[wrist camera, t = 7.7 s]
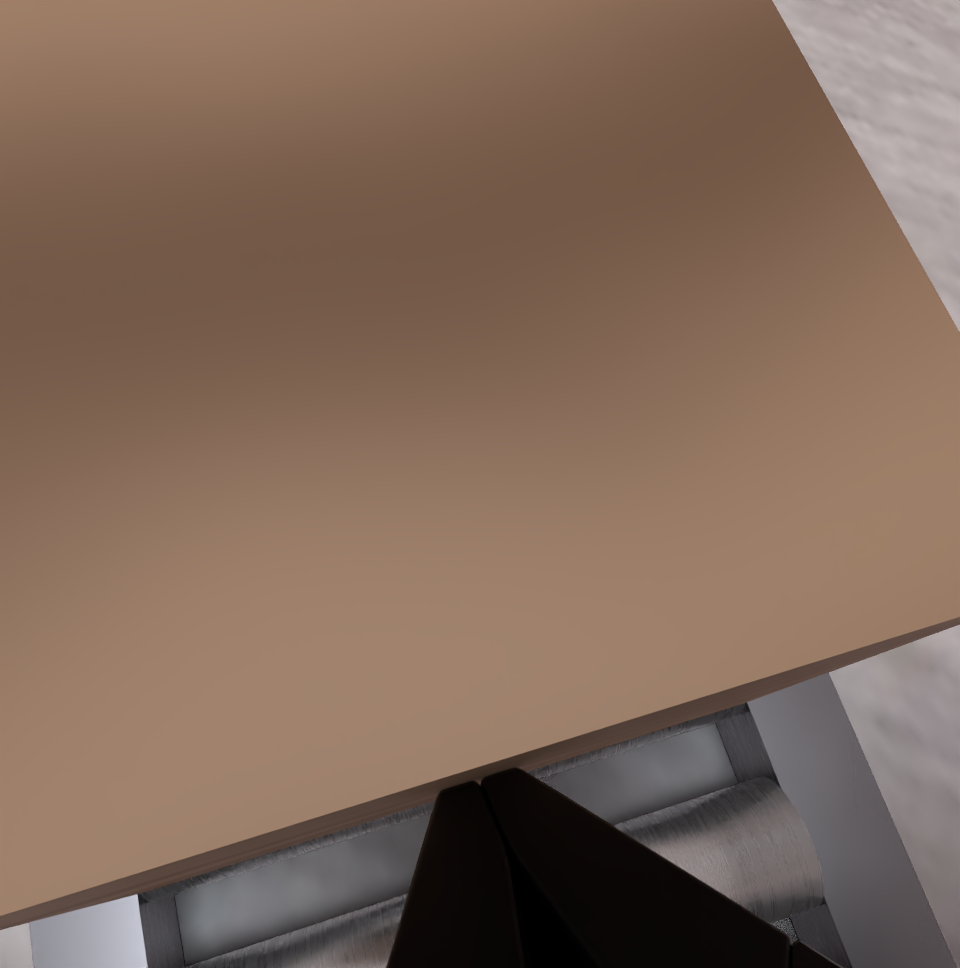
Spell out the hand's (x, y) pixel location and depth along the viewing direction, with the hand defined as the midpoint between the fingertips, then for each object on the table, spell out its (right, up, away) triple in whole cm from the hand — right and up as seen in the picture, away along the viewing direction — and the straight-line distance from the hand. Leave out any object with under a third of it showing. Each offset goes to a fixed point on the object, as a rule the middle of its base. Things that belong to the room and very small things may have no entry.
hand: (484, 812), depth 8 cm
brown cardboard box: (-1, +2, +5) cm, 6 cm away
